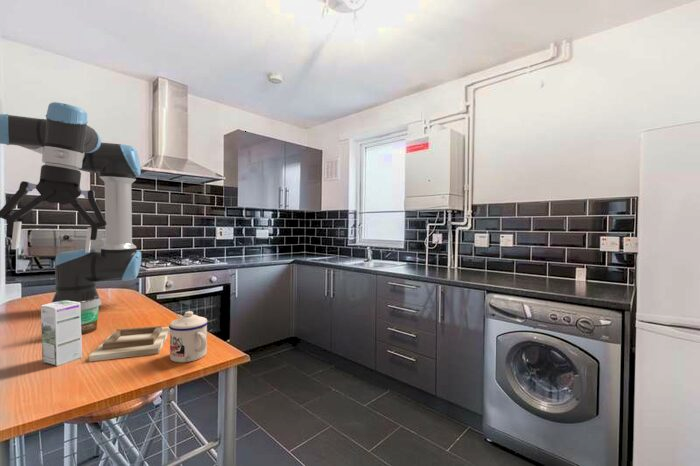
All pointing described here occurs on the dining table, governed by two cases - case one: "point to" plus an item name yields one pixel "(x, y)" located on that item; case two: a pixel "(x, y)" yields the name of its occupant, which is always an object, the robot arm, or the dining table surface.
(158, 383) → the dining table surface
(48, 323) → the syrup box
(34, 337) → the dining table surface
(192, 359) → the teacup with lid
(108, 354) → the beige square tray
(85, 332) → the food container
